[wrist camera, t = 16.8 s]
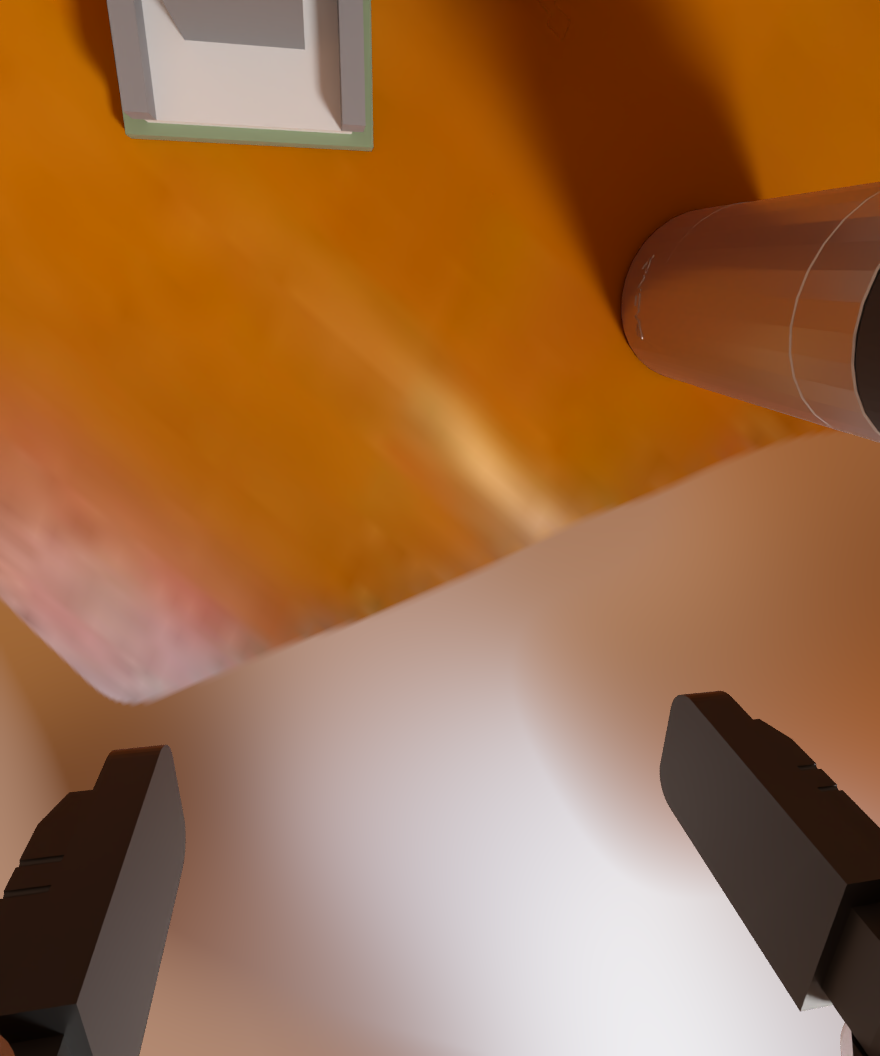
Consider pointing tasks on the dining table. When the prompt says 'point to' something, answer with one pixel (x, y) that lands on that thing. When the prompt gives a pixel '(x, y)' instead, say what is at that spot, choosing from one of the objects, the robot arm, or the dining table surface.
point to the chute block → (240, 21)
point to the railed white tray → (247, 80)
